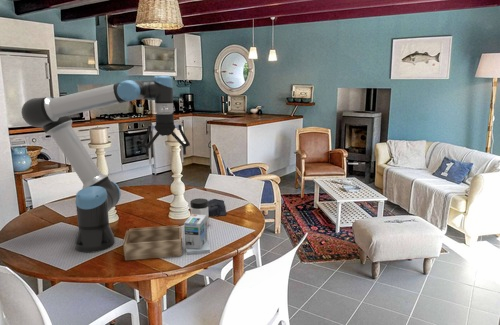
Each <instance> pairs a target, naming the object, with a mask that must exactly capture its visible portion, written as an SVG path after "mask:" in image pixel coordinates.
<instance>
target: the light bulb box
mask: <svg viewBox="0 0 500 325" xmlns="http://www.w3.org/2000/svg"><path fill="white" fill-rule="evenodd" d="M183 225H184V228H183V229H184V244H185V245H184V248H185V249H186V248H194V249H201V248H202V246H203V245H204V244H205V242H206V241H207V240H208V227H207V215H195V214H192V215H191V214H190V216H189V217H188V218H187V219H186V220H185V222H184V223H183Z"/></svg>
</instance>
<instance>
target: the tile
mask: <svg viewBox="0 0 500 325" xmlns="http://www.w3.org/2000/svg"><path fill="white" fill-rule="evenodd" d="M185 249H186V250H185V251H186V255H187V256H188V255H195V254H196V255H198V254H208V253H210V252H211V248H210V245H209V241H208V239H207V241H206V242H205V244H204V245H203V246H202V248H201V249H194V248H185Z"/></svg>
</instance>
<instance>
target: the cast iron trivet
mask: <svg viewBox="0 0 500 325" xmlns="http://www.w3.org/2000/svg"><path fill="white" fill-rule="evenodd" d="M208 213H209V218H210V216H211V218H212V217H222V216H223V217H224V216H227V209H226V205H225V200H223V199H218V198H212V199H210V200H208Z"/></svg>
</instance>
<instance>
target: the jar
mask: <svg viewBox="0 0 500 325" xmlns="http://www.w3.org/2000/svg"><path fill="white" fill-rule="evenodd" d="M208 201H209V200H208V199H206V198H201V197H200V198H194V199H191V200H190V203H189V205H190V216H191V215H192V214H195V215H207V226H208V227H209V226H210V220H209V218H210V217H209V213H208Z"/></svg>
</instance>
